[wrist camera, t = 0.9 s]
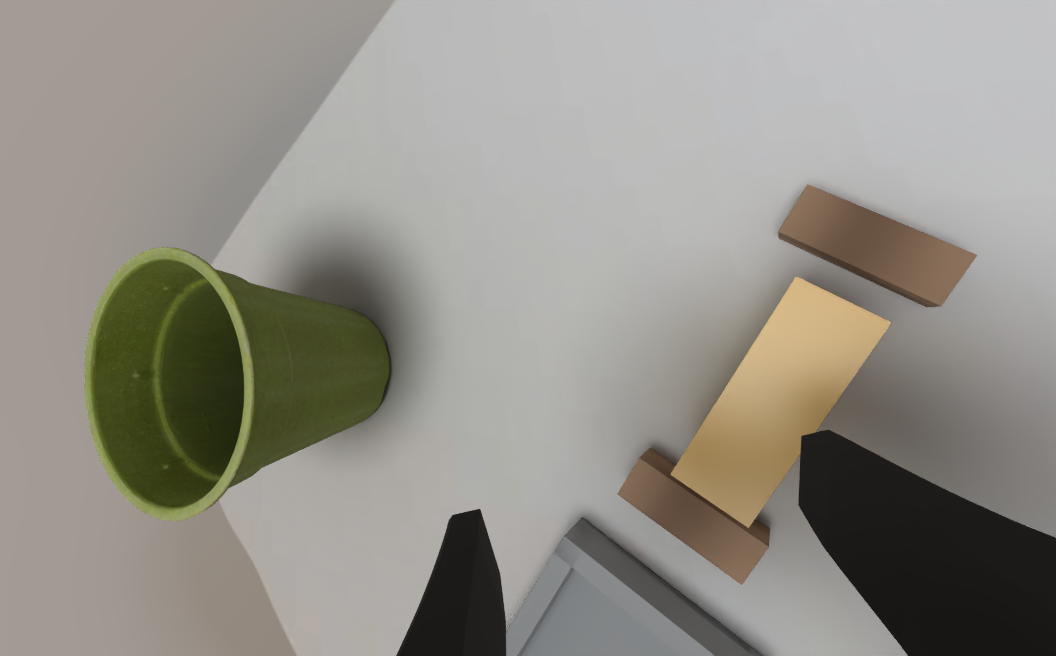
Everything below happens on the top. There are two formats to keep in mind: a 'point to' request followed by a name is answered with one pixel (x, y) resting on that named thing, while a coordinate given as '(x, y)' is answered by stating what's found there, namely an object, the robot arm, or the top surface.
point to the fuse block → (778, 398)
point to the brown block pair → (846, 242)
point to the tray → (611, 608)
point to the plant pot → (217, 379)
